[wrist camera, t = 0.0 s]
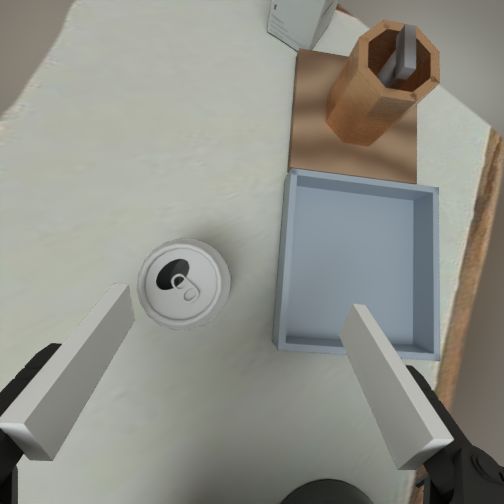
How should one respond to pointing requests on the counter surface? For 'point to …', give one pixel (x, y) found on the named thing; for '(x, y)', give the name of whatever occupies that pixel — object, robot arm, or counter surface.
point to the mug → (378, 86)
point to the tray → (357, 262)
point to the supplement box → (300, 21)
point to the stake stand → (327, 142)
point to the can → (183, 284)
